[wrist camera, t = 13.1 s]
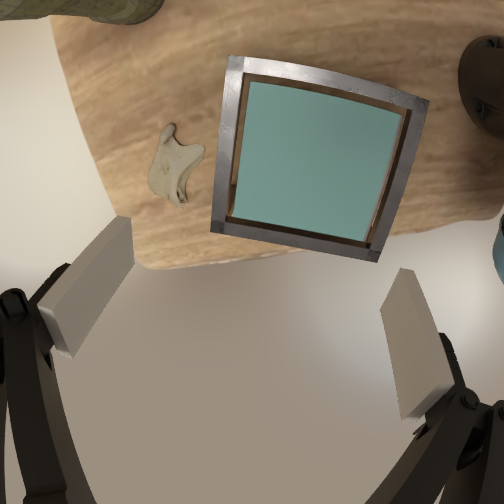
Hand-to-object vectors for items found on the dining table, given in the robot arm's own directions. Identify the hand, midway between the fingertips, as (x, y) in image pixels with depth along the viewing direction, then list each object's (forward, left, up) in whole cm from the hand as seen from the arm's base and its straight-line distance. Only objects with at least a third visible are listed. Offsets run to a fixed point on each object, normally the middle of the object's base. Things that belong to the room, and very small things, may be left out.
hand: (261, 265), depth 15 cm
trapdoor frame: (-3, 0, -28) cm, 28 cm away
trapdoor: (-4, 0, -18) cm, 19 cm away
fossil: (+14, +6, -28) cm, 32 cm away
